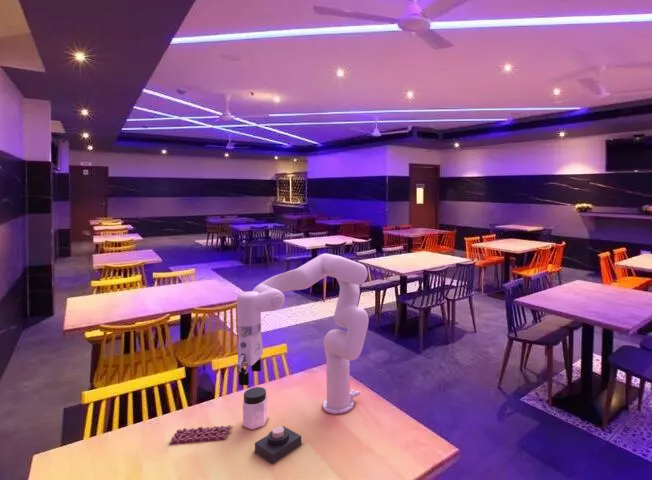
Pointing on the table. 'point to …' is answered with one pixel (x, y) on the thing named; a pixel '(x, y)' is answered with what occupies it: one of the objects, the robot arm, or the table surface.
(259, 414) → the jar
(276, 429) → the pink short cylinder
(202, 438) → the chocolate bar
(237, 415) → the table surface
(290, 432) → the black push button
